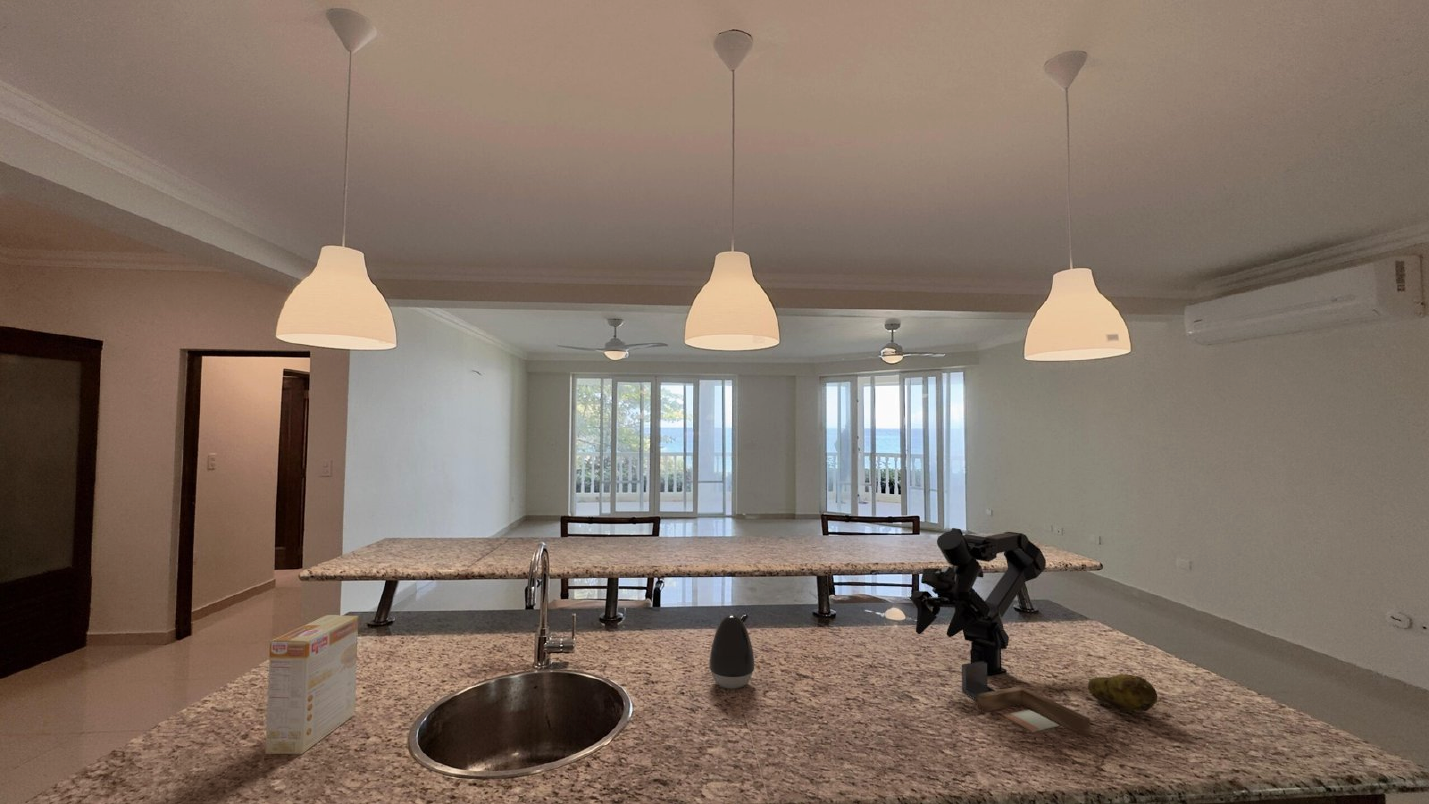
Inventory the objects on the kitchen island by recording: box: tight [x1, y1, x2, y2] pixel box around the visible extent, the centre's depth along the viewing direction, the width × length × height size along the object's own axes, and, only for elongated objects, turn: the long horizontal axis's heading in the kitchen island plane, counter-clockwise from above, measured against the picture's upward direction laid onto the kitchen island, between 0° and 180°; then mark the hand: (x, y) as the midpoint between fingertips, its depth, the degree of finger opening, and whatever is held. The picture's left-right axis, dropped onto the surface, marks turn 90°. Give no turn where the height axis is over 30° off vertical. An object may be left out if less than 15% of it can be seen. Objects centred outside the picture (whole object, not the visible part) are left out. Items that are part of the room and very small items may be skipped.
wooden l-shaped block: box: [976, 684, 1091, 737], centre depth 117 cm, size 12×16×3 cm
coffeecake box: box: [264, 614, 359, 755], centre depth 111 cm, size 15×7×20 cm, turn 178°
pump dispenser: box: [708, 614, 755, 690], centre depth 134 cm, size 10×10×15 cm
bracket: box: [961, 661, 997, 702], centre depth 128 cm, size 6×6×6 cm
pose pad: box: [1002, 708, 1060, 733], centre depth 117 cm, size 7×7×1 cm
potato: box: [1087, 673, 1158, 712], centre depth 122 cm, size 8×13×8 cm, turn 0°
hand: (932, 634), depth 130 cm, fingers open, 9 cm apart
